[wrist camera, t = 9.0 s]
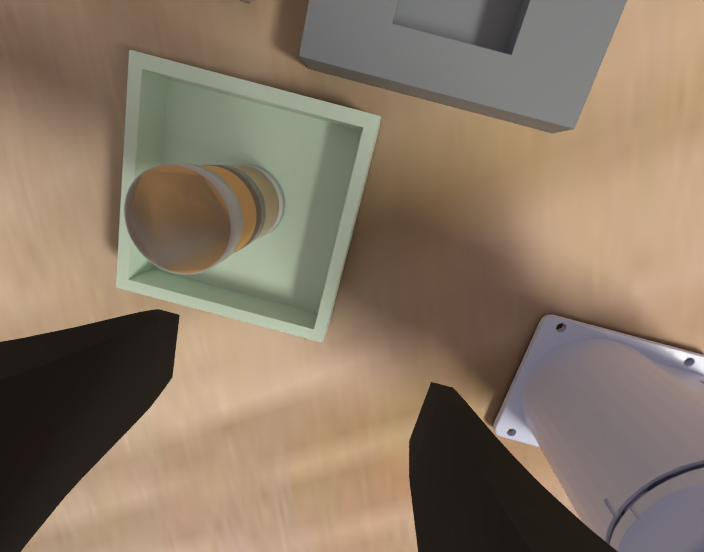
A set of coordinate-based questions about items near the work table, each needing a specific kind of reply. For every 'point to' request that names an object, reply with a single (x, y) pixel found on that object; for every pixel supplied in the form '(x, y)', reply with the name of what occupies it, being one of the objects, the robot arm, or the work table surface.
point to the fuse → (200, 213)
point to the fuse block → (469, 52)
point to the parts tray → (268, 153)
